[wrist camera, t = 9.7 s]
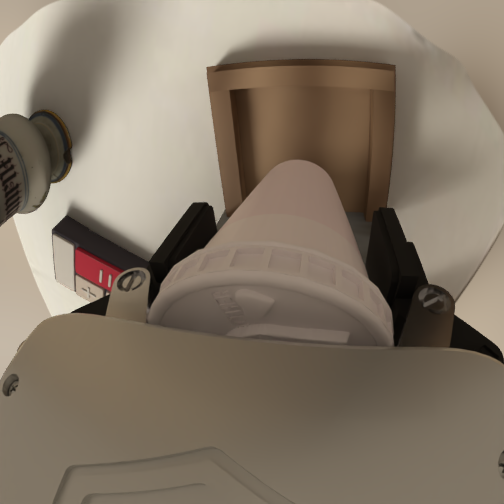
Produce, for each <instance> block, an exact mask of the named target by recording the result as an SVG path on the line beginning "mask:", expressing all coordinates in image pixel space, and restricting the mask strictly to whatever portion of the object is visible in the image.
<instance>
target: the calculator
mask: <svg viewBox="0 0 504 504" xmlns="http://www.w3.org/2000/svg"><path fill="white" fill-rule="evenodd" d="M52 244H53V259H54V270H55V279H56V281H57V282H59V283H60V284H62V285H64V286H65V287H67V288H69V289H70V290H72V291H75V292H76V294H77V295H79V296H80V297H82V298H84V299H86V300H88V301H89V302H93V301H96V300H98V299H100V298H102V297H104V296H106V295H109V294H111V290H112V286H113V283H114V281H115V279H116V278H117V277H118V275H120V274H121V273H122V272H124V271H126V270H128V269H132V268H138V267H140V268H144V269H146V268H147V267H148V265H149V264H150V263H149V262H147V261H145V260H143V259H142V258H140V257H138V256H136V255H134V254H133V253H131V252H129V251H127V250H125V249H123V248H122V247H120V246H118V245H116V244H114V243H113V242H111V241H109V240H107V239H105V238H103V237H101V236H99V235H97V234H95V233H93V232H92V231H90V230H89V229H88V228H87V227H85V226H84V225H82V224H80V223H79V222H77V221H75V220H74V219H72V218H70V217H69V216H65V217H64V218H63V219H62V220H61V221H60V222H59V223H58V224H57V225H56V226H55V227H54V228H53V229H52Z"/></svg>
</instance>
